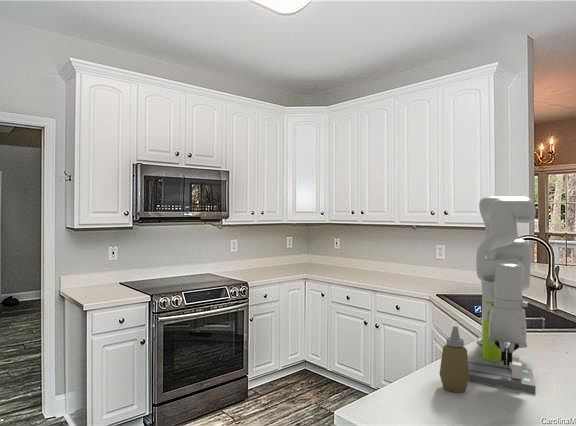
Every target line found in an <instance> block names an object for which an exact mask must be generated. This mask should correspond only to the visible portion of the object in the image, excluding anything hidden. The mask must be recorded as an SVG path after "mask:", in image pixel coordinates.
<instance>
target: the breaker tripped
mask: <svg viewBox="0 0 576 426" xmlns="http://www.w3.org/2000/svg"><path fill="white" fill-rule="evenodd" d="M522 367H523V364H522V362H520V361H519V362H513V361H512V378H516V379H522Z"/></svg>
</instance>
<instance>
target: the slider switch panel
mask: <svg viewBox="0 0 576 426" xmlns="http://www.w3.org/2000/svg"><path fill="white" fill-rule="evenodd" d="M468 367H469V381H468V382H474V383H477V384H483V385H488V386H494V387H501V388H504V389H505V388H506V389H512V390H516V391H517V390H518V391H522V392H526V393H527V392H528V393H533V394H536V392H537V391H536V389H537V388H536V381H535V377H534V373H533V369H532V368H528V367H523V366H522V379H516V378H512V370H511V369H510V364H509V366H508V365H507V364H506V365H504V363H499V362H498V363H497V362H493V361H484V360H478V359H471V358H468Z"/></svg>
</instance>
